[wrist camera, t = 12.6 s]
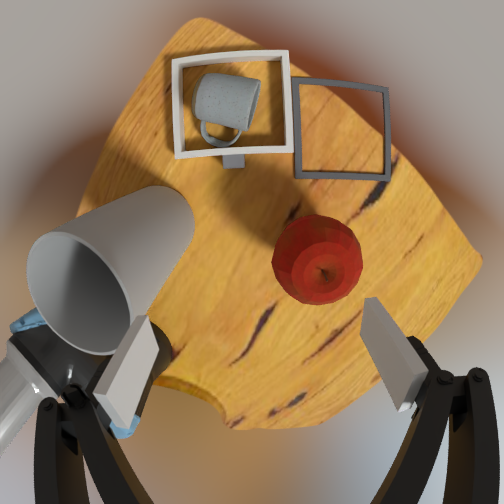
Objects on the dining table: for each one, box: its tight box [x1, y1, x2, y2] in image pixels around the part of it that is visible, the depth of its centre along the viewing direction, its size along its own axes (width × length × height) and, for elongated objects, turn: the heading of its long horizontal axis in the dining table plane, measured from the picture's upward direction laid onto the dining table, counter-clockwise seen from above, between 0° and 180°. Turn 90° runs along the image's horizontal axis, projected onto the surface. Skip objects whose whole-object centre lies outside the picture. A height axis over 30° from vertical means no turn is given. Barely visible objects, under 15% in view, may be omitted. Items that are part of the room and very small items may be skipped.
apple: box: [271, 214, 363, 305], centre depth 37 cm, size 12×12×14 cm
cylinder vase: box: [26, 185, 195, 355], centre depth 31 cm, size 12×12×25 cm
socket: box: [172, 50, 294, 169], centre depth 35 cm, size 17×18×2 cm
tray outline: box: [292, 77, 391, 181], centre depth 37 cm, size 16×16×1 cm
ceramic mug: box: [192, 73, 261, 147], centre depth 33 cm, size 11×8×8 cm
